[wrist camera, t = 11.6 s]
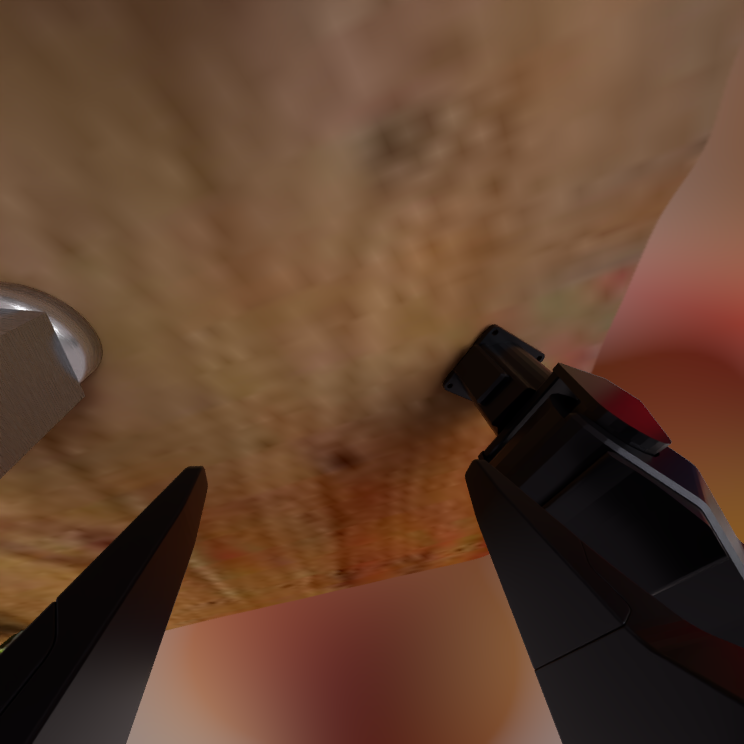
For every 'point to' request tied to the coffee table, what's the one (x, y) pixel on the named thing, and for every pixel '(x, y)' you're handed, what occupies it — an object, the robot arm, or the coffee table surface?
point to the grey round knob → (31, 383)
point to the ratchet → (58, 325)
